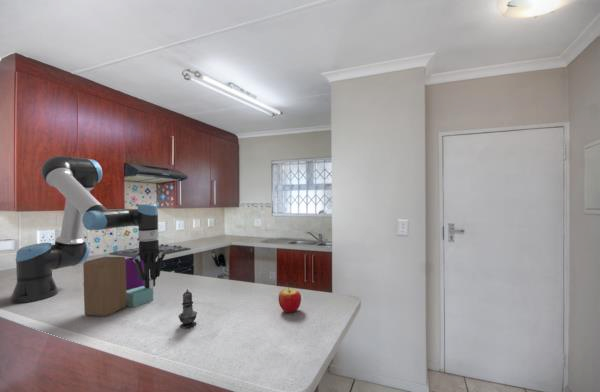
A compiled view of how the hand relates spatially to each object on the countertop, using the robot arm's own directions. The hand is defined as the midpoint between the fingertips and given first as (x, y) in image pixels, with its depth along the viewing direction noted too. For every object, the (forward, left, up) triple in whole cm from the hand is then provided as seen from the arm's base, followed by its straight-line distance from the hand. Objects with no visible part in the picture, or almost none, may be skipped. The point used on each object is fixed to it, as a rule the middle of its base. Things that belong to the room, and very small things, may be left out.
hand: (150, 294), depth 121 cm
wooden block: (0, -16, -2) cm, 16 cm away
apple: (+59, +23, -2) cm, 63 cm away
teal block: (0, -5, -2) cm, 5 cm away
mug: (-20, +1, -2) cm, 20 cm away
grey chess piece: (+38, -5, -2) cm, 38 cm away
